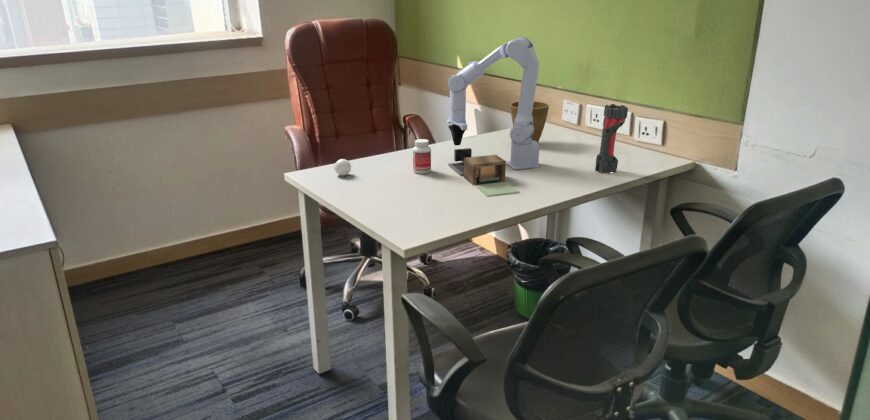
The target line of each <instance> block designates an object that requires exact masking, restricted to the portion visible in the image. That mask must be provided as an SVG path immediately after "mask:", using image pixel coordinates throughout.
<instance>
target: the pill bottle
mask: <svg viewBox="0 0 870 420" xmlns="http://www.w3.org/2000/svg"><path fill="white" fill-rule="evenodd" d="M429 142H430V141H429V139H425V138H421V139H420V138H419V139H416V140H414V145H415V146H414V147H413V148H412V167H413V169H412V170H413V172H414V173H415V174H419V175H426V174H429V173H431V171H432V149H431V147H430V146H429V144H430V143H429Z"/></svg>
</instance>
